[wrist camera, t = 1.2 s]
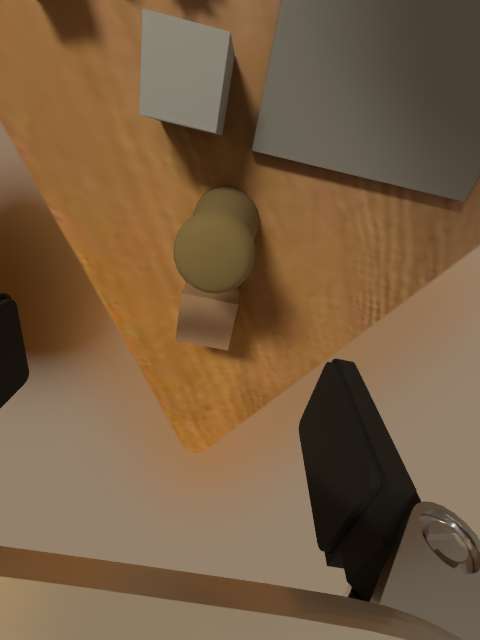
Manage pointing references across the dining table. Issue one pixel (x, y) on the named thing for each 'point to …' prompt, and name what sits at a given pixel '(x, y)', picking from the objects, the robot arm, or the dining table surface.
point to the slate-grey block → (185, 72)
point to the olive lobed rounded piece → (218, 241)
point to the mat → (377, 91)
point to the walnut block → (207, 317)
